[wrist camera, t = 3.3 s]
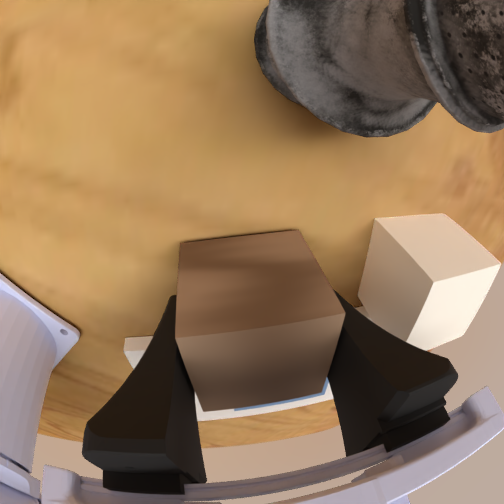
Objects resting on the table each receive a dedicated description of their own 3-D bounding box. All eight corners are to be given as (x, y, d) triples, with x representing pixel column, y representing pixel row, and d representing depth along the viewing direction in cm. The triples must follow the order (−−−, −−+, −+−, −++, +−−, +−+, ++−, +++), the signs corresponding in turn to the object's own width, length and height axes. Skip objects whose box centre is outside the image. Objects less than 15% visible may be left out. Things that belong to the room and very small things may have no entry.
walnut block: (197, 325, 15) (203, 411, 11) (180, 243, 12) (175, 338, 8) (292, 312, 15) (321, 392, 11) (298, 229, 12) (345, 313, 8)
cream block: (356, 294, 16) (395, 361, 12) (373, 217, 13) (433, 282, 9) (421, 281, 17) (462, 335, 13) (443, 212, 14) (501, 263, 10)
